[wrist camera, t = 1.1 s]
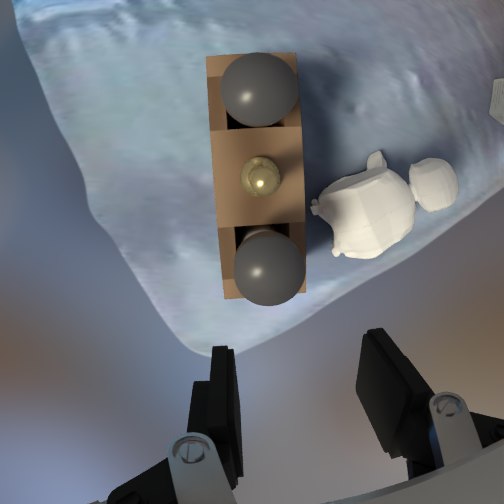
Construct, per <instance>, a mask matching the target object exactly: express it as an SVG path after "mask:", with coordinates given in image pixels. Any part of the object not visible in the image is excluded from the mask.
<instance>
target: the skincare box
mask: <svg viewBox="0 0 504 504" xmlns="http://www.w3.org/2000/svg"><path fill="white" fill-rule="evenodd" d="M489 114H490V115H491V116H492V117H493V118H494V119H496V120H497V121H498V122H499V123H501V124H502V125H503V126H504V78H501V79H494V81H493V91H492V99H491V105H490V109H489Z"/></svg>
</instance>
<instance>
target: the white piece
mask: <svg viewBox="0 0 504 504" xmlns="http://www.w3.org/2000/svg"><path fill="white" fill-rule="evenodd" d="M409 182H410V184H409V185H407V183H406V182H405V181H404V180H403V179H402V178H401V177H400V176H399V175H398V174H397V173H395V172H393V171H392V170H390V169H387V162H386V160H385V159H384V157H383V155H382V153H381V151H380V150H379V151H377V152H375V153H372V154H370V156H369V157H368V160H367V171H364V172H361V173H358V174H356V175H351V176H347V177H343V178H340V180H337V181H336V182H333V183H332V184H330V185H329V186H328V187H326V188H325V189H324V190H323V191H322V193H321V194H320V196H319V197H318V201H317V200H316V199H313V200H312V201H311V202H312V206H311V207H310V208H311V211H312V213H313V215H319V216H320V217H321V218H323V219H324V220H325V221H326V222H327V223H329V224H330V225H331V227H332V229H333V231H334V239H332V242H331V245H332V247H331V251H332V253H333V255H334V256H335V257H337V256H339V255H340V253H344V254H345V256H347V257H351V258H360V259H371V258H375V257H377V256H378V255H380V254H381V253H382V252H384V251H385V250H386V249H388V248H389V247H390V246H392V245H393V244H394V243H396V242H399V241H400V240H401V239H402V238H403V237H404V236H405V235H407V234H408V233H409V232H410V231H411V230H412V228H413V226H414V222H415V210H416V207H415V202H419V204H420V205H421V206H422V208H423V209H425V210H427V211H428V212H430V213H432V212H435V211H437V210H442V209H445V208H446V207H448V206H450V205H452V204H453V203H454V202H456V198H457V196H458V193H459V185H458V179H457V176H456V174H455V172H454V170H453V168H452V167H451V165H450V164H449V163H448V162H446V161H445V160H443V159H437V158H426V159H423V160H421V161H420V162H418V163H415V164H411V166H410V169H409Z"/></svg>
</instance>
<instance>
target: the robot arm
mask: <svg viewBox="0 0 504 504" xmlns="http://www.w3.org/2000/svg"><path fill="white" fill-rule="evenodd" d="M356 393H357V395H358V397H359V399H360V401H361V403H362V405H363V408H364V410H365V412H366V414H367V416H368V418H369V420H370V422H371V425H372V427H373V429H374V431H375V433H376V435H377V437H378V440H379V442H380V444H381V446H382V448H383V450H384V452H385V453H387V452H389V454H390V456H391V459H393V458H396V457H400V456H403V458H406V464H407V471H408V481H405V482H402V483H399V484H396V485H393V486H389V487H386V488H383V489H379V490H376V491H372V492H369V493H365V494H361V495H357V496H353V497H349V498H345V499H340V500H335V501H330V502H325V503H320V504H504V420H503V419H499V418H494V417H490V416H486V415H482V414H478V413H474V412H469V410H468V408H467V405H466V403H465V401H464V399H462V398H461V397H460V396H459V395H457V394H455V393H451V392H441V393H438V394H436V395H435V394H434V392H433V391H432V389H431V388H430V387H429V385H428V384H427V383H426V382H425V380H424V379H423V378H422V376H421V375H420V374H419V372H418V371H417V370H416V368H415V367H414V366H413V364H412V363H411V362H410V360H409V359H408V358H407V357H406V356H404V355H403V353H402V352H401V351H400V349H399V348H398V347H397V346H396V344H395V343H394V342H393V340H392V339H391V338H390V337H389V335H388V334H387V333H386V331H385V330H384V329H383V328H376V329H370V330H368V331H367V334H364V335H363V339H362V347H361V354H360V361H359V368H358V375H357V381H356ZM167 456H168V457H167V458H166V459H164V460H163V461H161V462H159V463H158V464H156V465H155V466H153V467H151V468H150V469H148V470H147V471H145V472H143V473H141V474H140V475H138V476H136V477H135V478H133V479H131V480H129V481H128V482H126V483H124V484H123V485H121V486H119V487H117V488H116V489H115V490H113V491H112V492H111V493H110V495H109V496H108V499H107V500H106V501H103V502H101V503H100V502H99V501H98V500H97V501H95V502H92V503H89V504H237V503H236V500H235V498H234V495H233V493H232V490H233V489H234V488H236V485H238V477H243V476H244V475H243V456H242V436H241V415H240V400H239V392H238V383H237V375H236V366H235V358H234V349H228V346H213V348H212V359H211V371H210V381H194V383H193V389H192V397H191V404H190V412H189V419H188V427H187V433H184V434H181V435H179V436H177V437H175V438H174V439H173V440H172V441H171V442H170V443H169V445H168V447H167Z"/></svg>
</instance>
